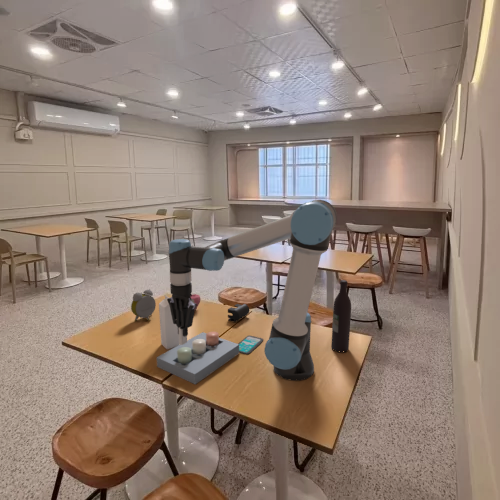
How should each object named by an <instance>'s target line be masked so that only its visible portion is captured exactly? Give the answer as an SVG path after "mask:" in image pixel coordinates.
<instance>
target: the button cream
mask: <svg viewBox="0 0 500 500" xmlns="http://www.w3.org/2000/svg"><path fill="white" fill-rule="evenodd" d="M192 346H193V353H194V354H196V355H201V354H204V353H205V352H206V341H205V340H204V339H196V340H194V341H193V342H192Z"/></svg>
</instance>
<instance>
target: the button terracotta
mask: <svg viewBox="0 0 500 500" xmlns="http://www.w3.org/2000/svg"><path fill="white" fill-rule="evenodd" d="M219 336H220V335H219V332H218V331H208V332H207V334H206V344H207V345H208V346H217V345H218V344H219V338H220V337H219Z"/></svg>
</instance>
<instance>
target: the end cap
mask: <svg viewBox="0 0 500 500" xmlns="http://www.w3.org/2000/svg"><path fill="white" fill-rule="evenodd" d="M227 313H228V315H227V318H228V322H233V323H236V322H238V321H240V320H241V319H243V318H245V317H246V316H248V315H249V314H250V307H249V306H248V305H247V304H246V303H243V304H239V303H237V304H235V305H234V307H229V308H227Z"/></svg>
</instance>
